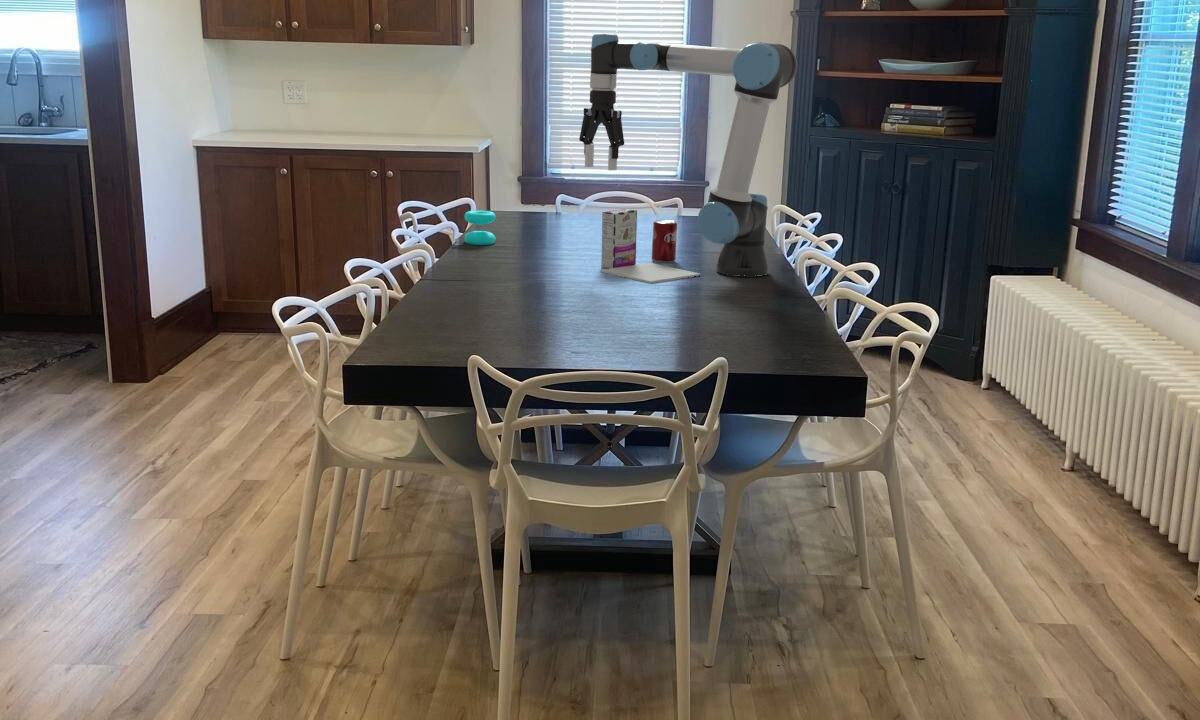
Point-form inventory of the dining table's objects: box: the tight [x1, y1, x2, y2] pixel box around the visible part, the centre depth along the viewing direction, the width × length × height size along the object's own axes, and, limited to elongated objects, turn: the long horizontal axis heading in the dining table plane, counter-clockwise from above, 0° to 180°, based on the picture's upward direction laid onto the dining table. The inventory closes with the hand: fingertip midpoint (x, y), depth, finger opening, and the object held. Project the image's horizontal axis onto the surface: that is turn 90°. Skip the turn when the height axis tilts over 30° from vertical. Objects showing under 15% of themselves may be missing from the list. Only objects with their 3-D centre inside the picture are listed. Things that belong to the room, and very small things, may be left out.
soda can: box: [651, 219, 678, 264], centre depth 338 cm, size 7×7×12 cm
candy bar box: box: [600, 208, 638, 269], centre depth 326 cm, size 11×5×16 cm, turn 143°
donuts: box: [464, 210, 497, 246], centre depth 359 cm, size 10×10×10 cm
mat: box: [600, 262, 702, 284], centre depth 319 cm, size 20×20×1 cm
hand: (600, 168), depth 328 cm, fingers open, 9 cm apart
